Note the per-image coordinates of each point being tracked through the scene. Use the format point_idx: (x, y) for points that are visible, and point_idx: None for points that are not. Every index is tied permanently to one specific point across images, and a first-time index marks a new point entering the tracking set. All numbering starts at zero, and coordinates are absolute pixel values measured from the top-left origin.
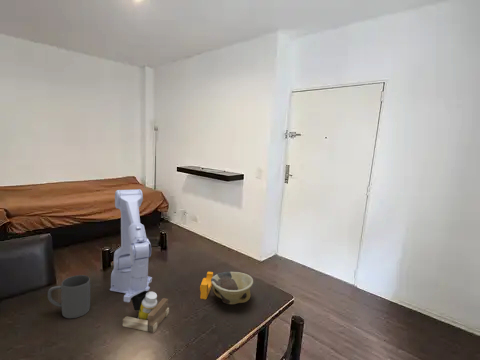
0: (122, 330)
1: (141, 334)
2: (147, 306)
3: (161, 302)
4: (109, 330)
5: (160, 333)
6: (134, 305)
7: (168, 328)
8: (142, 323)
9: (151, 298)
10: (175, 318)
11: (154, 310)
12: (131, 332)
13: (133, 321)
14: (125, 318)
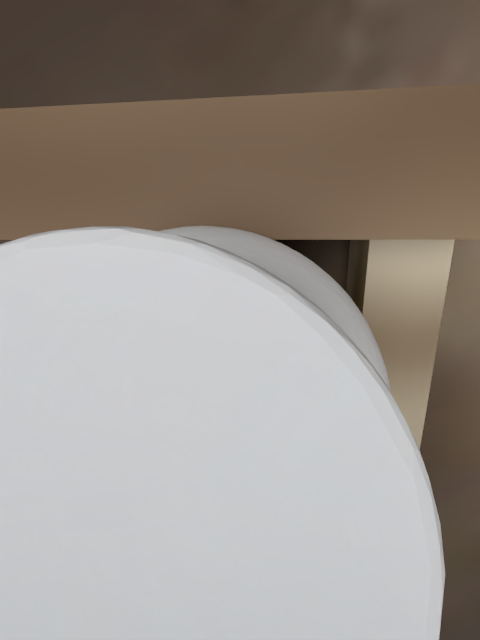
0: (437, 457)
1: (470, 268)
2: (386, 379)
3: (43, 191)
4: (453, 545)
5: (423, 61)
6: None
7: (314, 9)
8: (440, 312)
9: (370, 427)
10: (119, 26)
11: (364, 183)
12: (453, 374)
13: (419, 428)
14: None
